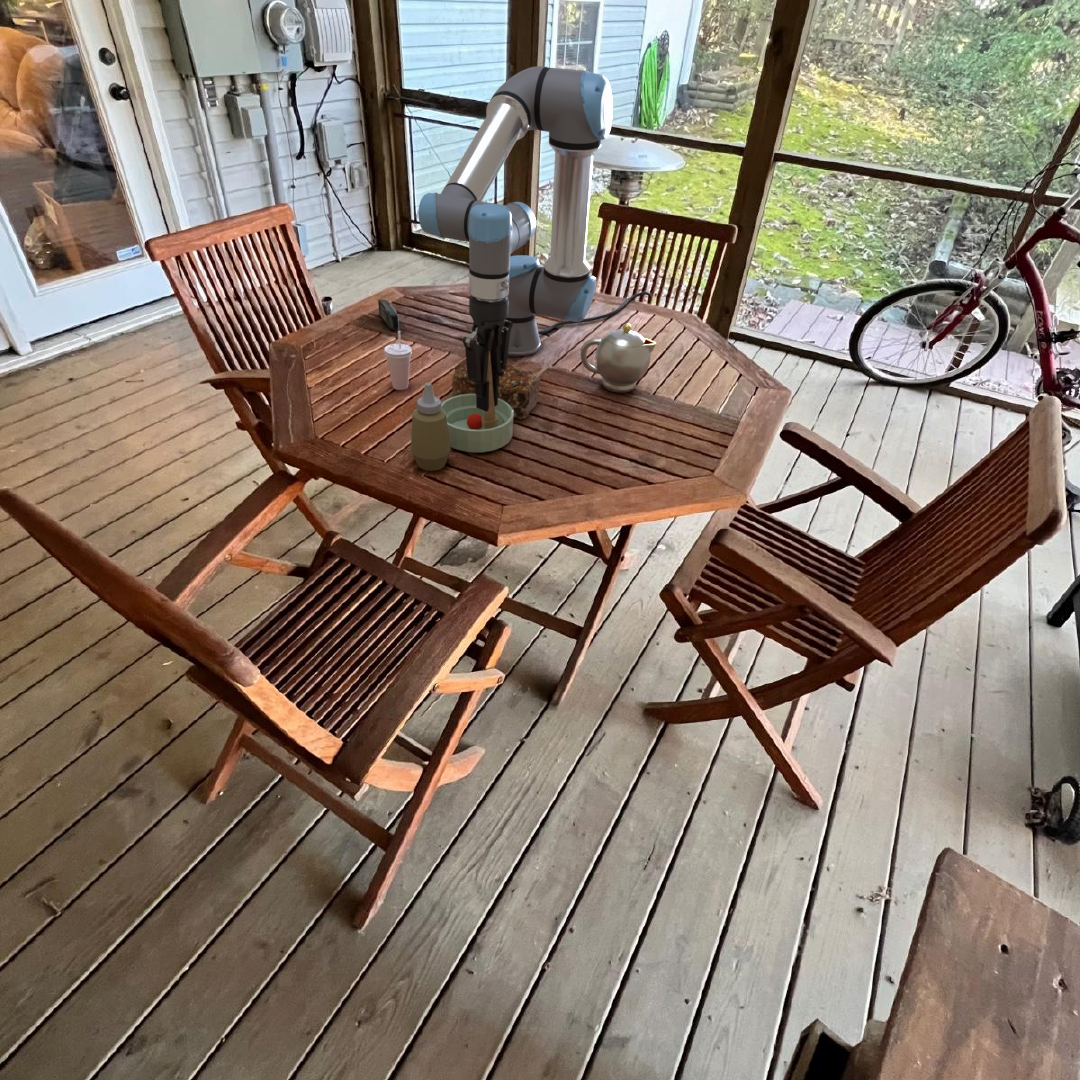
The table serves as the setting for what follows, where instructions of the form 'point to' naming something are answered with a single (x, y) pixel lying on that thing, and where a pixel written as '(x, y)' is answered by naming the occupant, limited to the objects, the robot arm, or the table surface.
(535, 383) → the bread
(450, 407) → the bowl
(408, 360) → the smoothie
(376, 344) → the table surface
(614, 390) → the teapot
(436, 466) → the squeeze bottle
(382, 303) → the dark grey tapered piece
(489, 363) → the muddler
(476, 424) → the cherry tomato
